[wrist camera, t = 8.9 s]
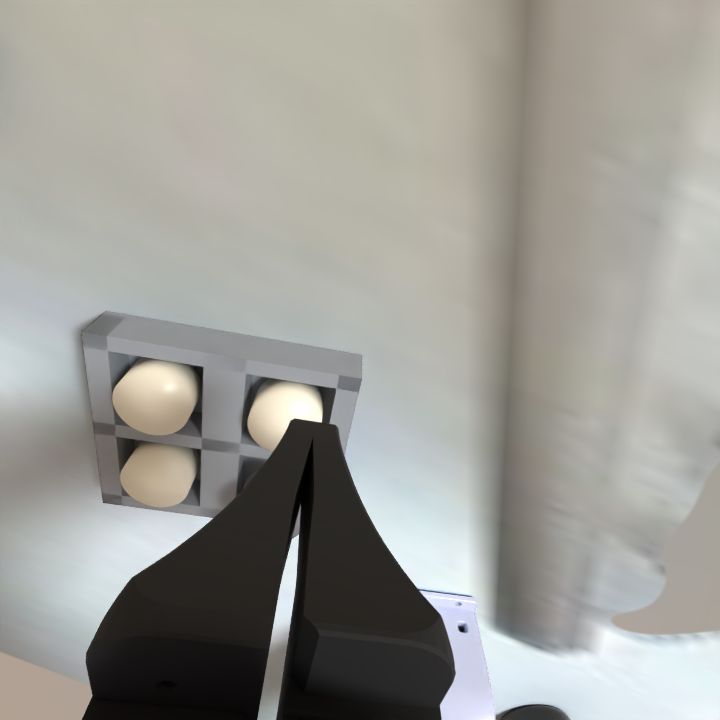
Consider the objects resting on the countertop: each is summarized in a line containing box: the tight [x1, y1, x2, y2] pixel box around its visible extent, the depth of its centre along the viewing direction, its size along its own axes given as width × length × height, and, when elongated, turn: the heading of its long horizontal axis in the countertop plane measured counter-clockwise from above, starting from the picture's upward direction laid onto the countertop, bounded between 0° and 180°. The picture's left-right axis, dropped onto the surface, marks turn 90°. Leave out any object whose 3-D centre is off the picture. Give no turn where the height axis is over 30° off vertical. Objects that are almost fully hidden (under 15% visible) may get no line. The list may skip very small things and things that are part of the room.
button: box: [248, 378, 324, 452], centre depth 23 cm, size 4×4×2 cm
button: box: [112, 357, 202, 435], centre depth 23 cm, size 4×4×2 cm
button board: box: [81, 311, 362, 518], centre depth 25 cm, size 13×11×2 cm
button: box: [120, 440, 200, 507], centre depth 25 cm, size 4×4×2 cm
